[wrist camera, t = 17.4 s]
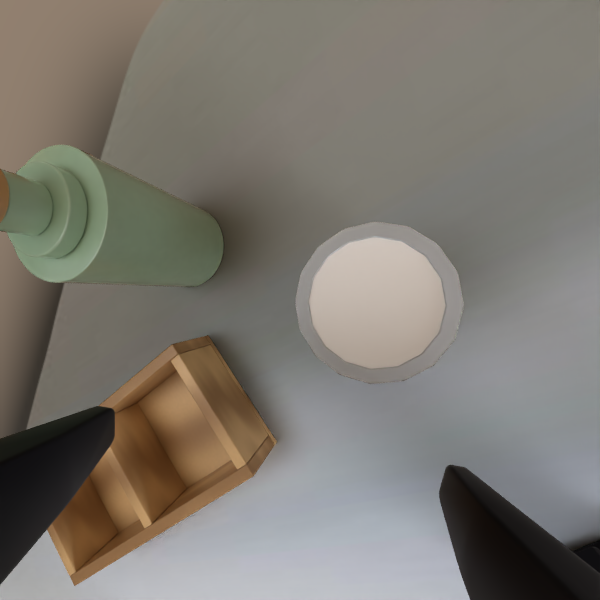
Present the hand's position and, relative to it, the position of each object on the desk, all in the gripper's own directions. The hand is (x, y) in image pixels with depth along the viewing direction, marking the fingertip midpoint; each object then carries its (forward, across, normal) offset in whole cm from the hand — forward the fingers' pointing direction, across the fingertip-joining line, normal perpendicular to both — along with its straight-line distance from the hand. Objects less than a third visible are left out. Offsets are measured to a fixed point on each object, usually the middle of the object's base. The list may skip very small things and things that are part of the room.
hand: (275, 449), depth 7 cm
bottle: (+15, +10, -4) cm, 19 cm away
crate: (+13, +10, +13) cm, 21 cm away
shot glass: (+12, -5, -2) cm, 13 cm away
